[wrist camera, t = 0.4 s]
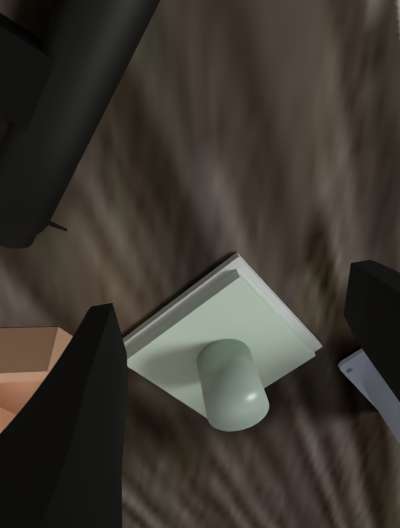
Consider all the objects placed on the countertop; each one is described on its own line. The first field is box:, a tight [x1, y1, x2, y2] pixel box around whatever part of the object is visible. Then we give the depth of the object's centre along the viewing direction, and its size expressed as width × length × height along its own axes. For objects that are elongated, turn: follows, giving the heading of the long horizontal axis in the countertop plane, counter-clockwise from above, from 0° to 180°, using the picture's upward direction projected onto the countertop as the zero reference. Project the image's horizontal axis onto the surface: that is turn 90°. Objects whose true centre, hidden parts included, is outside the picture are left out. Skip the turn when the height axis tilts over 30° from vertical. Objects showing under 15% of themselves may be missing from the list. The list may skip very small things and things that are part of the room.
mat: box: [123, 252, 322, 352], centre depth 25 cm, size 10×10×1 cm
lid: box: [126, 269, 316, 431], centre depth 23 cm, size 9×9×5 cm
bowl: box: [0, 327, 73, 433], centre depth 23 cm, size 8×8×4 cm
